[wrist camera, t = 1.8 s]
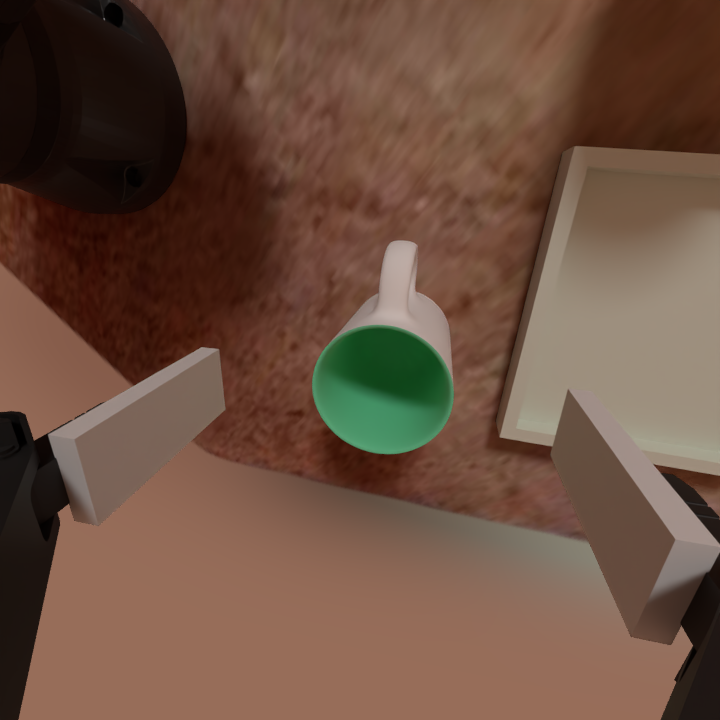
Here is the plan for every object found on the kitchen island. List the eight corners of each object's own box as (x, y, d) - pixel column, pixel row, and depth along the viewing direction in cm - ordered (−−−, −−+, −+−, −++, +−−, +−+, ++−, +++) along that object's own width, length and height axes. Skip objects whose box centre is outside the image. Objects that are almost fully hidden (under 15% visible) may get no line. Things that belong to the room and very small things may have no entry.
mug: (351, 234, 29) (306, 245, 19) (460, 236, 28) (469, 249, 18) (351, 379, 33) (314, 445, 24) (445, 387, 32) (446, 461, 22)
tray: (495, 421, 32) (499, 437, 30) (562, 152, 25) (574, 145, 22) (738, 462, 29) (763, 483, 27) (896, 172, 22) (950, 168, 19)
